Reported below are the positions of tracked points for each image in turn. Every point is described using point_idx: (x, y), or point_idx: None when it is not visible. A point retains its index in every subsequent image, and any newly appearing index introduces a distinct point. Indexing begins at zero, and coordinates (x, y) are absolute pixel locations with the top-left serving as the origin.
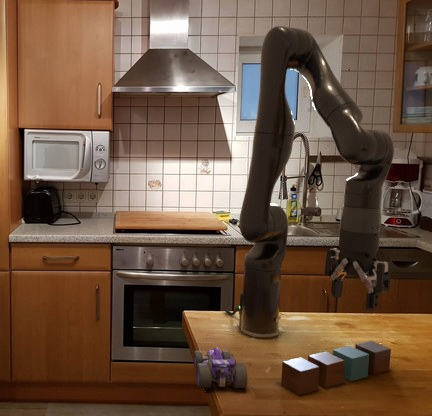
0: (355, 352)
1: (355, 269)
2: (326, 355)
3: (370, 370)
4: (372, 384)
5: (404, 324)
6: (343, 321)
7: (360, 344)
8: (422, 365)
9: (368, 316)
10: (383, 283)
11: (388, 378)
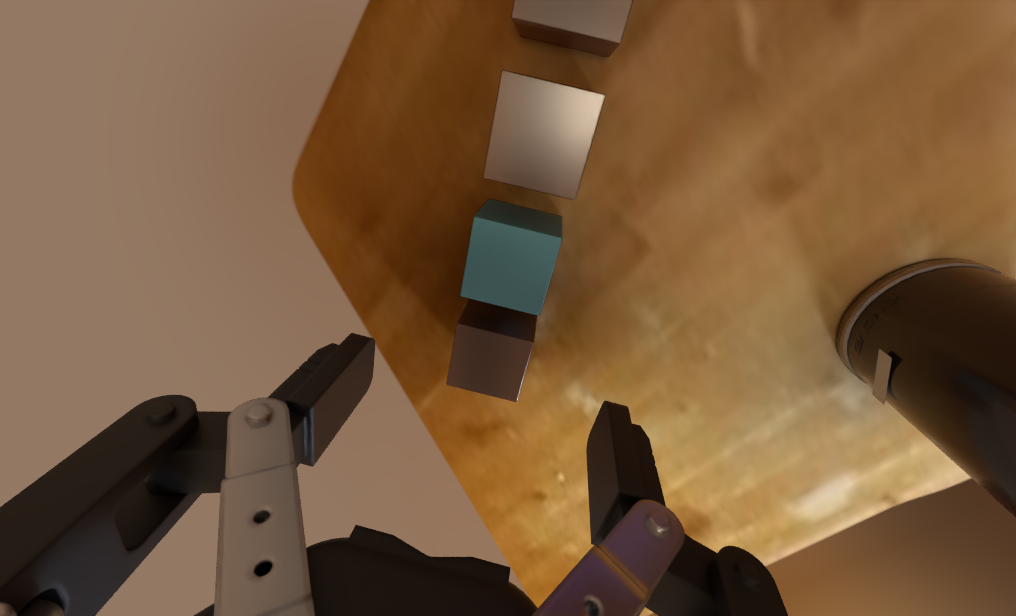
0: (496, 276)
1: (310, 603)
2: (551, 163)
3: None
4: (443, 232)
5: None
6: None
7: (522, 352)
8: (432, 424)
9: None
10: (165, 511)
11: (439, 301)
